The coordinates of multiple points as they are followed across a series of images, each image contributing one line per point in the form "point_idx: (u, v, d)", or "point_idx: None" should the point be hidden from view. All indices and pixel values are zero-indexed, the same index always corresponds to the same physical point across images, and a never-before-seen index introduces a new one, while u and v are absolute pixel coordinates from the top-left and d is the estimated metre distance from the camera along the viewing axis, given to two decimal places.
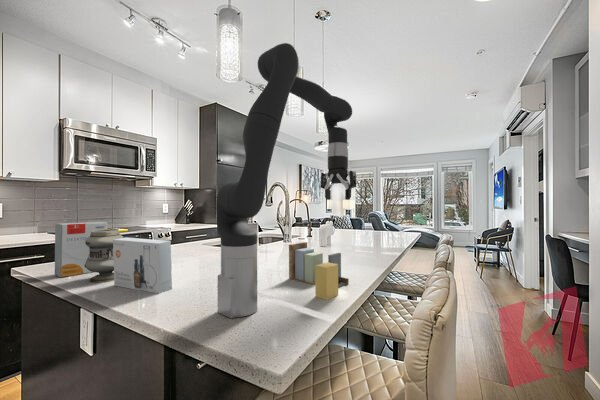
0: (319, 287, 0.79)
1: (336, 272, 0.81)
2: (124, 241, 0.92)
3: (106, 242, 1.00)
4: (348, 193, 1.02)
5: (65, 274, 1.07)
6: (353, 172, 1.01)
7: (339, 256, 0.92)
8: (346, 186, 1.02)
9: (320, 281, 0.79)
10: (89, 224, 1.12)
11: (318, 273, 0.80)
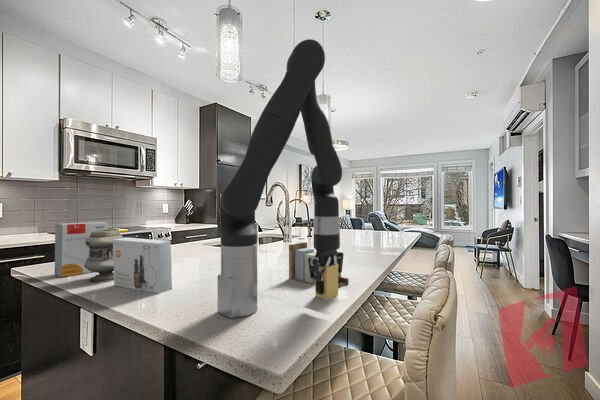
0: None
1: (336, 272, 0.81)
2: (124, 241, 0.92)
3: (106, 242, 1.00)
4: None
5: (65, 274, 1.07)
6: None
7: None
8: None
9: None
10: (89, 224, 1.12)
11: None
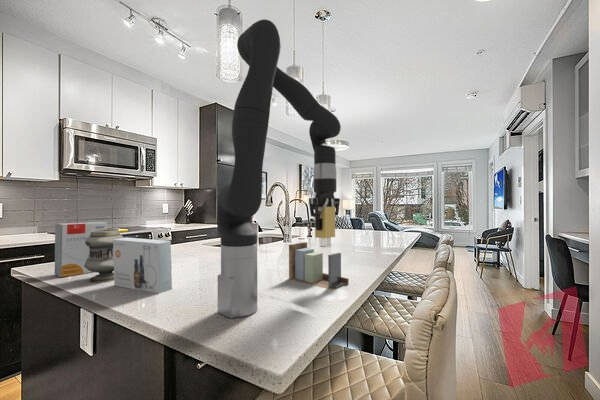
0: None
1: (333, 213, 0.93)
2: (124, 241, 0.92)
3: (106, 242, 1.00)
4: None
5: (65, 274, 1.07)
6: None
7: (339, 256, 0.92)
8: None
9: None
10: (89, 224, 1.12)
11: None
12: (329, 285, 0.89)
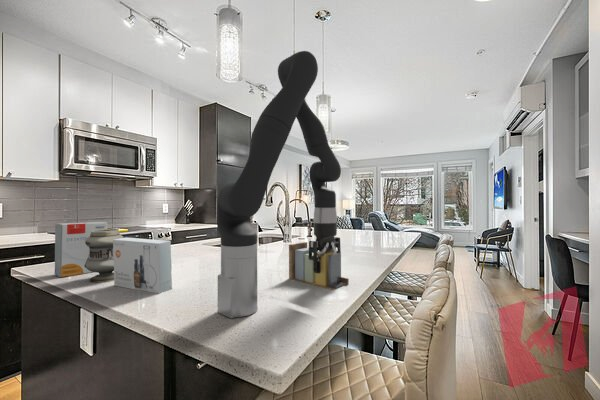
0: None
1: None
2: (124, 241, 0.92)
3: (106, 242, 1.00)
4: None
5: (65, 274, 1.07)
6: None
7: (339, 256, 0.92)
8: None
9: None
10: (89, 224, 1.12)
11: None
12: (329, 285, 0.89)
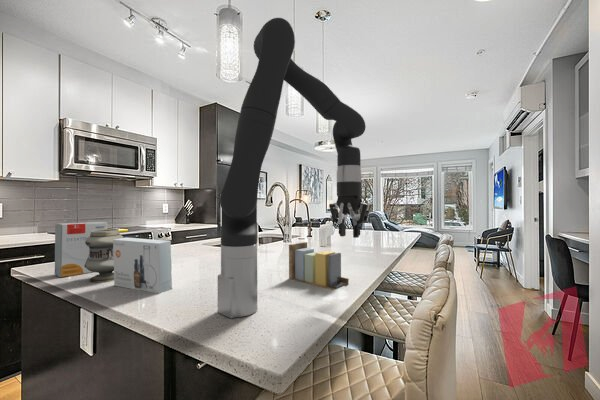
0: (318, 271, 0.92)
1: None
2: (124, 241, 0.92)
3: (106, 242, 1.00)
4: None
5: (65, 274, 1.07)
6: None
7: (339, 256, 0.92)
8: None
9: (319, 266, 0.91)
10: (89, 224, 1.12)
11: (318, 259, 0.92)
12: (329, 285, 0.89)
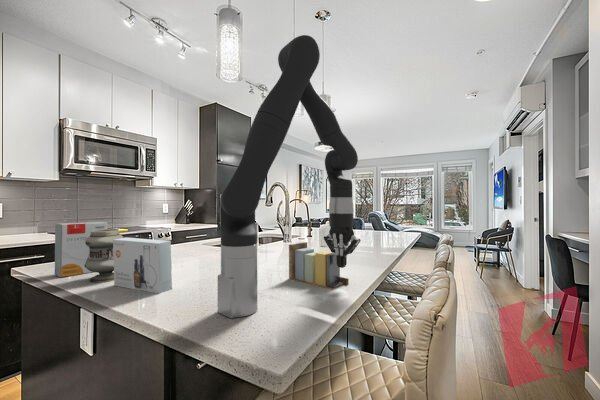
0: (318, 271, 0.92)
1: None
2: (124, 241, 0.92)
3: (106, 242, 1.00)
4: None
5: (65, 274, 1.07)
6: None
7: None
8: None
9: (319, 266, 0.91)
10: (89, 224, 1.12)
11: (318, 259, 0.92)
12: (328, 285, 0.89)
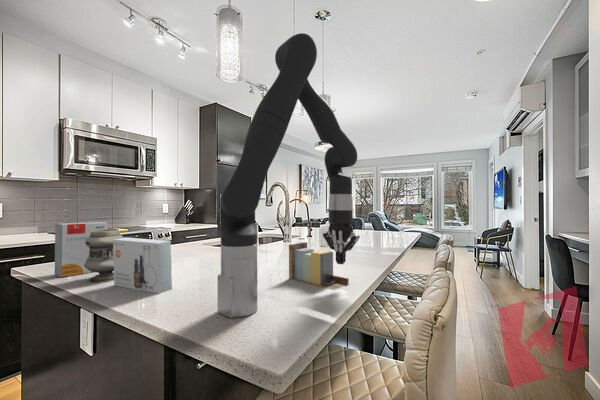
0: (314, 270, 0.93)
1: None
2: (124, 241, 0.92)
3: (106, 242, 1.00)
4: None
5: (65, 274, 1.07)
6: None
7: (331, 255, 0.94)
8: None
9: (315, 265, 0.93)
10: (89, 224, 1.12)
11: (313, 259, 0.93)
12: (321, 283, 0.91)
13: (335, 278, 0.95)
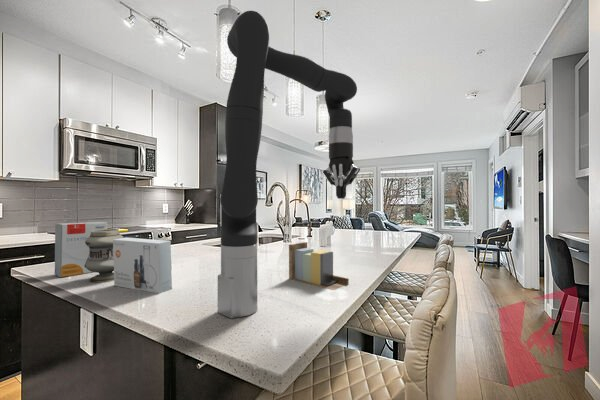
0: (314, 270, 0.93)
1: None
2: (124, 241, 0.92)
3: (106, 242, 1.00)
4: None
5: (65, 274, 1.07)
6: None
7: (331, 255, 0.94)
8: None
9: (315, 265, 0.93)
10: (89, 224, 1.12)
11: (313, 259, 0.93)
12: (321, 283, 0.91)
13: (335, 278, 0.95)
